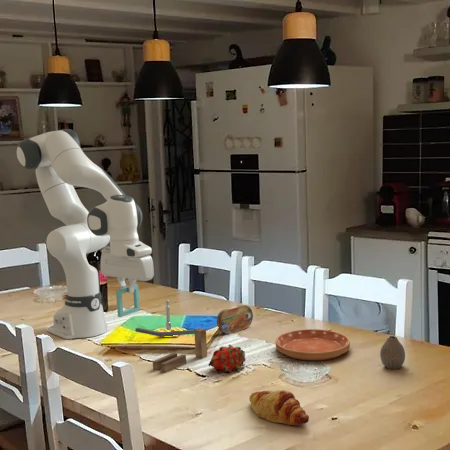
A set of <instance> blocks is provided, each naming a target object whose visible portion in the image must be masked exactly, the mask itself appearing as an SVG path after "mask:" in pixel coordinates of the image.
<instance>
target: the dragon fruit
mask: <svg viewBox="0 0 450 450" xmlns="http://www.w3.org/2000/svg"><path fill="white" fill-rule="evenodd" d="M245 352H246V351H245V350H243V349H241V346H235V347H234V346H233V345H232V344H228V347H227V346H219V348H218V349H217V350H214V351H213V354H212V357H211V359H210V361H209V363H208V367H212V368H213V369H212V371H213V372H214V373H218V374H220V373H222V372H229V373H234V372H235V371H236V370H237V369H241V368H242V367H245V366H246V363H245V362H246V358H245V356H246V353H245Z"/></svg>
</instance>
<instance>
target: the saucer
mask: <svg viewBox="0 0 450 450" xmlns="http://www.w3.org/2000/svg"><path fill="white" fill-rule="evenodd" d="M275 348H276V349H277V351H278V352H280V353H282V354H284V355H285V356H287V357H290V358H292V359H297V360H303V361H324V360H332V359H335V358H337V357H340V356H342V355H343V354H345V353H347V352H348V351H349V350H350V348H351V340H350V338H349V337H348V336H347V335H345V334H343V333H341V332H339V331H334V330H327V329H319V328H316V329H314V328H313V329H312V328H309V329H308V328H307V329H296V330H291V331H287V332H285V333H282V334H279V336H277V337H276V338H275Z"/></svg>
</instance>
